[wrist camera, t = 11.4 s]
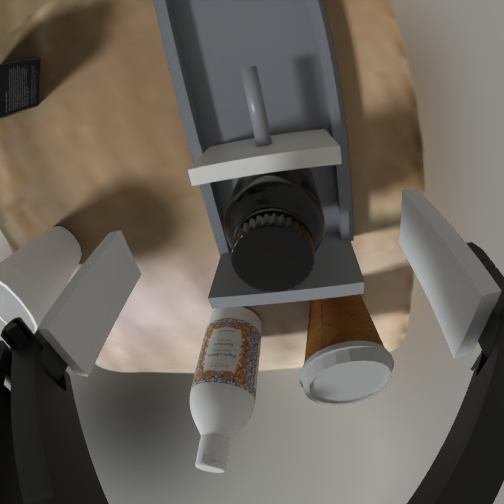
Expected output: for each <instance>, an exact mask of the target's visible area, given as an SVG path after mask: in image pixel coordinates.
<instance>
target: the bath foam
mask: <svg viewBox="0 0 504 504" xmlns="http://www.w3.org/2000/svg"><path fill="white" fill-rule="evenodd" d="M261 330H262V325H261V321H260V319H259V317H258V316H257V315H256V314H255V313H254V312H253V311H251V310H249V309H247V308H245V307H228V308H218V309H217V310H215V311H214V312H213V313H212V314H211V316H210V319H209V322H208V326H207V329H206V333H205V337H204V340H203V344H202V348H201V352H200V356H199V360H198V364H197V368H196V372H195V376H194V380H193V383H192V387H191V394H190V408H191V413H192V416H193V419H194V421H195V423H196V425H197V428H198V430H199V432H200V434H201V439H200V444H199V448H198V454H197V459H196V467H197V468H198V469H201V470H204V471H208V472H215V473H223V472H225V471H226V467H227V461H228V453H229V447H230V440H231V439H232V438H233V437H234V436H235V435H236V434H237V433H238V432H239V431H240V430H241V429H242V428H243V427H244V426H245V425H246V423H247V422H248V420H249V419H250V417H251V414H252V412H253V409H254V404H255V397H256V387H257V376H258V366H259V355H260V344H261Z"/></svg>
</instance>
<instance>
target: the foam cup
mask: <svg viewBox="0 0 504 504" xmlns="http://www.w3.org/2000/svg"><path fill="white" fill-rule="evenodd" d="M81 256H82V253H81V248H80V245H79V243H78V241H77V239H76V238H75V236H74V235H73V234H72V233H71V232H70V231H69V230H67V229H65V228H63V227H61V226H55V227H52V228H50V229H48V230H47V231H45V232H44V233H42V234H41V235H39V236H38V237H36V238H35V239H33V240H32V241H30V242H29V243H27V244H26V245H25V246H23V247H22V248H20V249H19V250H17V251H16V252H15V253H13V254H12V255H11V256H9V257H8V258H6V259H5V260H4V261H2V262H1V263H0V319H1V320H2V321H3V322H4V323H5V324H6V325H7V324H8V323H9V322H10V321H11V320H12V319H14V318H16V317H20V318H22V319H23V321H24V322H25V323H26V325H27V326H28V327H29V329H30V330H31V331H32V332H33V334H34V333H35V332H36V330H37V327H38V326H39V324H40V323H41V321H42V320H43V318H44V317H45V315H46V314H47V312H48V311H49V309H50V308H51V307H52V305H53V304H54V302H55V301H56V299H57V298H58V297H59V295H60V294H61V293H62V291H63V290H64V288H65V287H66V285H67V283H68V281H69V280H70V278H71V276H72V274H73V273H74V271H75V269H76V267H77V266H78V263H79V262H80V260H81Z"/></svg>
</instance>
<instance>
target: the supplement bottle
mask: <svg viewBox="0 0 504 504" xmlns="http://www.w3.org/2000/svg"><path fill="white" fill-rule="evenodd" d="M224 232H225V236H226V239H227V241H228V243H229V245H230V247H231V256H230V259H231V261H232V267H233V268H234V272H235V273H237V275H238V277H239V278H240V279H242V281H243V282H244V283H246V284H248V285H249V286H250V287H254V288H255V289H257V290H262V291H268V292H281V291H287V290H288V289H293V288H294V287H295V286H298V285H300V284H301V282H303V281H305V280H306V278H307V277H308V276H309V275H310V272H311V271H312V270H313V265H314V263H315V258H314V257H315V252H316V251H317V249H318V248H319V246H320V244H321V242H322V240H323V236H324V232H325V219H324V213H323V210H322V206H321V202H320V199H319V195H318V192H317V188H316V185H315V181H314V178H313V175H312V173H311V170H310V169H309V168H301V169H293V170H285V171H278V172H271V173H264V174H258V175H251V176H245V177H239V178H238V180H237V182H236V185H235V188H234V190H233V193H232V195H231V198H230V201H229V203H228V206H227V209H226V212H225V217H224Z"/></svg>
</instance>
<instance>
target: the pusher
mask: <svg viewBox="0 0 504 504" xmlns="http://www.w3.org/2000/svg"><path fill="white" fill-rule="evenodd" d="M240 72H241V76H242V81H243V85H244V90H245V95H246V99H247V104H248V109H249V113H250V118H251V123H252V128H253V133H254V137H255V138H252V139H246V140H241V141H235V142H230V143H225V144H220V145H215V146H210V147H209V148H208V149H207V150H206V151H205V152H204V153H203V154H202V155H201V156H200V157H199V158H198V159H197V160H196V161H195V162H194V163H193V164H192V166H191V167H190V168H189V169H188V173H189V177H190V180H191V184H192V186H195V185H200V184H205V183H211V182H216V181H222V180H227V179H233V178H239V177H245V176H251V175H258V174H264V173H271V172H278V171H285V170H293V169H301V168H309V167H317V166H327V165H336V164H342V161H341V151H340V146H339V144H338V143H337V142H336V141H335V140H334V139H333V138H332V136H331V135H330V134H329V133H328V132H327V131H326V130H325V129H317V130H308V131H300V132H292V133H285V134H278V135H271V134H270V128H269V123H268V118H267V113H266V108H265V103H264V98H263V93H262V88H261V84H260V79H259V74H258V70H257V66H251V67H246V68H241V69H240Z"/></svg>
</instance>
